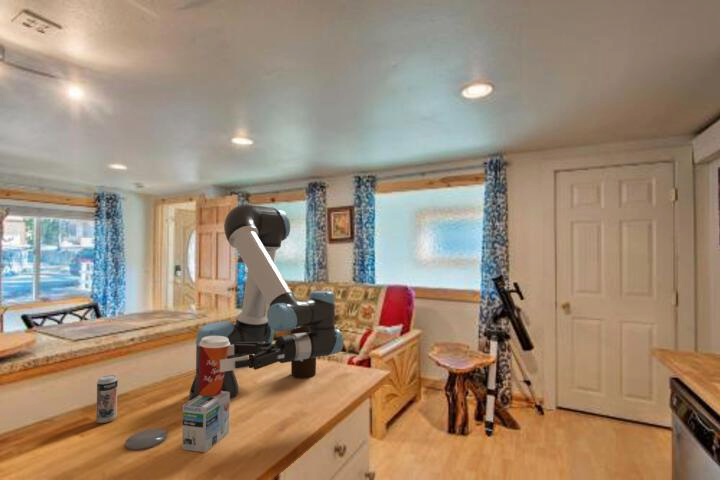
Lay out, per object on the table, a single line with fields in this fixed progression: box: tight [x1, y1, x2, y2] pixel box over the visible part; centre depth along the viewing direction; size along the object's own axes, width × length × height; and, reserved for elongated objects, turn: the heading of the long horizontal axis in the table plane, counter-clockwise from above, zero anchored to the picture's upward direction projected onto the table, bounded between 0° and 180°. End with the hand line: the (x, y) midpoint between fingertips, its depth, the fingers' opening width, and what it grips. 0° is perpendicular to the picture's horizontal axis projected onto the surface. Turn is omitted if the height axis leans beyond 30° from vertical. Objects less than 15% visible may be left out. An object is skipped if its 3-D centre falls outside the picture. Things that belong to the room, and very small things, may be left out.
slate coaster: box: [125, 428, 168, 451], centre depth 92 cm, size 9×9×1 cm
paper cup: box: [199, 336, 230, 396], centre depth 96 cm, size 8×8×14 cm
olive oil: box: [289, 326, 317, 379], centre depth 143 cm, size 11×11×25 cm
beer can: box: [95, 374, 119, 424], centre depth 103 cm, size 5×5×12 cm
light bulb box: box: [181, 391, 231, 453], centre depth 92 cm, size 11×7×11 cm, turn 168°
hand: (214, 359), depth 93 cm, fingers open, 13 cm apart
